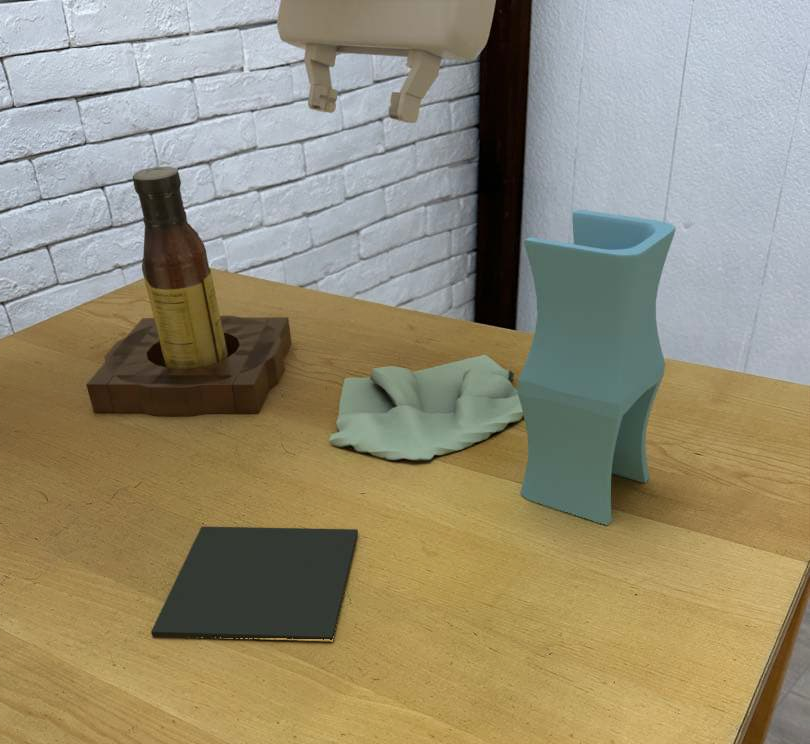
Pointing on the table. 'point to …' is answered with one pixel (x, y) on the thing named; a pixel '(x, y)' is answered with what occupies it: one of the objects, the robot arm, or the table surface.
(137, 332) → the bottle rack
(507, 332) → the table surface
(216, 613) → the mat
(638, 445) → the teal waisted open shell
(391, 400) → the cloth
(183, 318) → the sauce bottle
